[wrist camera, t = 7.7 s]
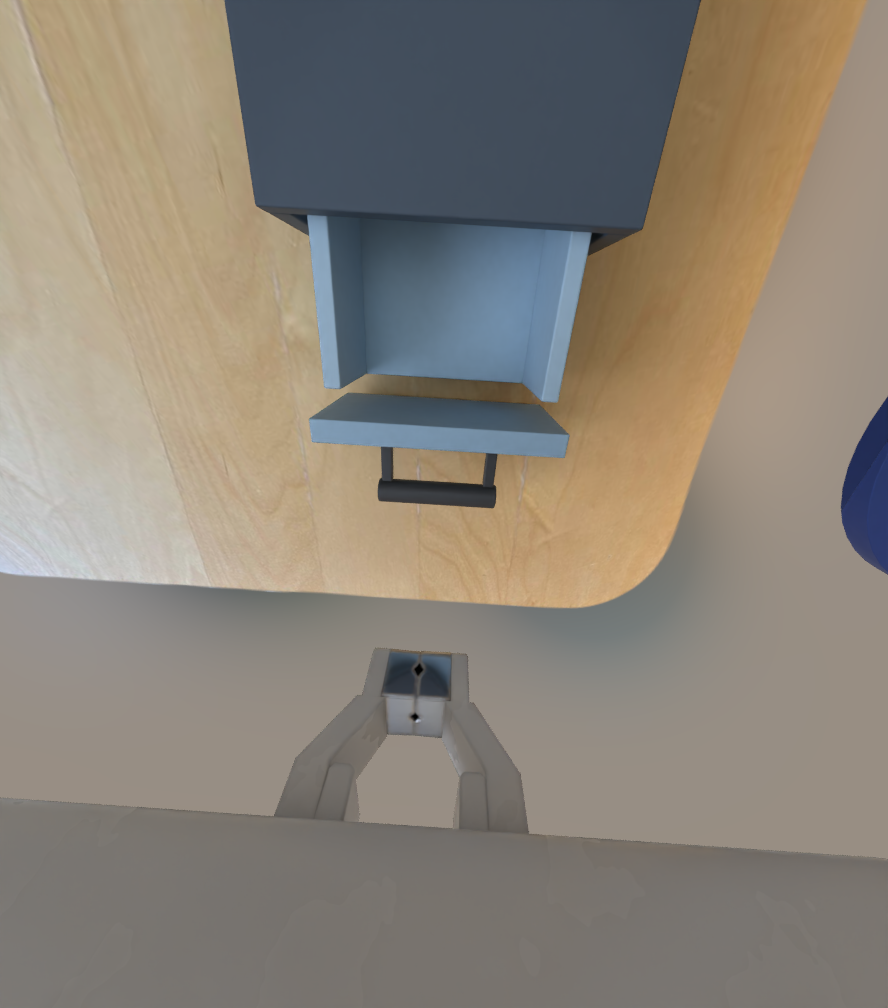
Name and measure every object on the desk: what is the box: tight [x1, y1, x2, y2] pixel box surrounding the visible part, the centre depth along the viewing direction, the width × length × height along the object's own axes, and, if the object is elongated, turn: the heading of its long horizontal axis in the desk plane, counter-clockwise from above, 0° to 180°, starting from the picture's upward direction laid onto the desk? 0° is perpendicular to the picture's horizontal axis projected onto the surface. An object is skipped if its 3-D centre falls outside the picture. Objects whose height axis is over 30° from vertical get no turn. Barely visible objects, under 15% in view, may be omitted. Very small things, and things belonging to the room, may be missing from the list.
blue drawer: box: [307, 215, 592, 508], centre depth 18 cm, size 19×13×7 cm, turn 177°
